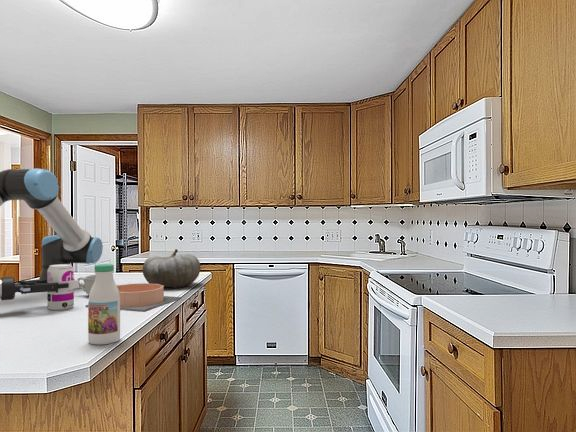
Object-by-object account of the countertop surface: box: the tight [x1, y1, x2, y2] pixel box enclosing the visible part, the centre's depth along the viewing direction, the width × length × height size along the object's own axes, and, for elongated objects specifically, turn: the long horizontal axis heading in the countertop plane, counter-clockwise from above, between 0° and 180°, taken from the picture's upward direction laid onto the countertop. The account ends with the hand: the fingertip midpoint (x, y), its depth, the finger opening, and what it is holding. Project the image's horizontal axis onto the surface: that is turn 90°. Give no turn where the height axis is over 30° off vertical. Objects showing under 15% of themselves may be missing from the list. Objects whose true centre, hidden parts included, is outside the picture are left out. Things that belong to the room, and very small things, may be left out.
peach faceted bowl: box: [85, 282, 182, 313], centre depth 168 cm, size 24×24×6 cm
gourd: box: [142, 248, 202, 289], centre depth 204 cm, size 25×25×17 cm
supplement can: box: [46, 263, 75, 311], centre depth 158 cm, size 8×8×15 cm
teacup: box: [76, 274, 96, 296], centre depth 182 cm, size 14×11×8 cm
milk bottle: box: [87, 263, 121, 346], centre depth 118 cm, size 8×8×20 cm
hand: (75, 282), depth 161 cm, fingers closed on supplement can, 8 cm apart
